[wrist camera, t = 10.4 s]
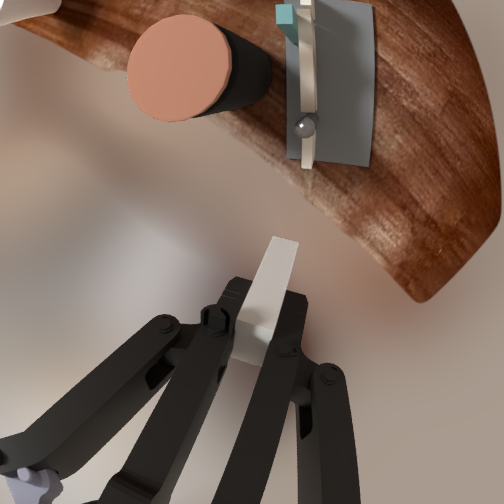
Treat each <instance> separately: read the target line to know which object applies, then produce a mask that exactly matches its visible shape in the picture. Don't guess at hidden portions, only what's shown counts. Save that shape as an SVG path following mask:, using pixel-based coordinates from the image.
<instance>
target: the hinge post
mask: <svg viewBox="0 0 504 504" xmlns="http://www.w3.org/2000/svg"><path fill="white" fill-rule="evenodd" d="M318 123H319V117H318V116H317V115H316V114H315V113H308V114H307V115H305V116H304V117H303V118H301V119H300V120H299V121H297V122H296V124H295V126H294V131H295V133H296V135H297V136H299V137H300V138H309V137H311V136H312V135H313V133H314V131H315V129H316V127H317V125H318Z"/></svg>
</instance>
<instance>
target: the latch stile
mask: <svg viewBox="0 0 504 504" xmlns="http://www.w3.org/2000/svg"><path fill="white" fill-rule="evenodd" d="M276 24H277V25H278V27H279V28H280V29H281V30H282V31H283V32H284V34H285V35H286V36H287V37H288V39H289V40H290V41H291V42H292V43H299V38H298V21H297V13H296V11H295V9H294V7H293V5H292V4H280V5H276Z"/></svg>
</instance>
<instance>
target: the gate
mask: <svg viewBox="0 0 504 504" xmlns="http://www.w3.org/2000/svg"><path fill="white" fill-rule="evenodd" d="M297 21H298V38H299V60H300V93H301V112H313V113H314V112H315V111H316V110H317V67H316V43H315V25H314V20H313V17H312V13H311V10H310V9H297Z"/></svg>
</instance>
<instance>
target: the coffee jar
mask: <svg viewBox="0 0 504 504" xmlns="http://www.w3.org/2000/svg"><path fill="white" fill-rule="evenodd" d="M127 79H128V80H127V81H128V87H129V90H130V93H131V95H132V98H133V100H134V101H135V102H136V104H137V105H138V106H139V108H140V109H141V110H142V111H143V112H145V113H146V114H148V115H149V116H151V117H152V118H154V119H158V120H162V121H166V122H175V121H184V120H187V119H189V118H197V117H201V116H206V115H210V114H214V113H219V112H223V111H228V110H233V109H239V108H243V107H246V106H249V105H252V104H253V103H255V102H256V101H258V100H259V99H261V98H262V97H263V95H264V94H265V93H266V91H267V90H268V89H269V86H270V83H271V80H272V66H271V63H270V61H269V58H268V56H267V55H266V54H265V53H264V51H263V50H262V49H261V48H260V47H258V46H256V45H254V44H253V43H251V42H249V41H247V40H246V39H244V38H242V37H240V36H238V35H236V34H235V33H233V32H231V31H229V30H227V29H225V28H223V27H221V26H219V25H217V24H215V23H212V22H210V21H208V20H206V19H203V18H201V17H199V16H196V15H176V16H172V17H169V18H165V19H162V20H161V21H159V22H158V23H156V24H154V25H153V26H151V27H150V28H148V29H147V31H146V32H145V33H144V34H143V35H142V36H141V37H140V38H139V39H138V41H137V42H136V44H135V46H134V48H133V50H132V52H131V54H130V58H129V62H128V67H127Z"/></svg>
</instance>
